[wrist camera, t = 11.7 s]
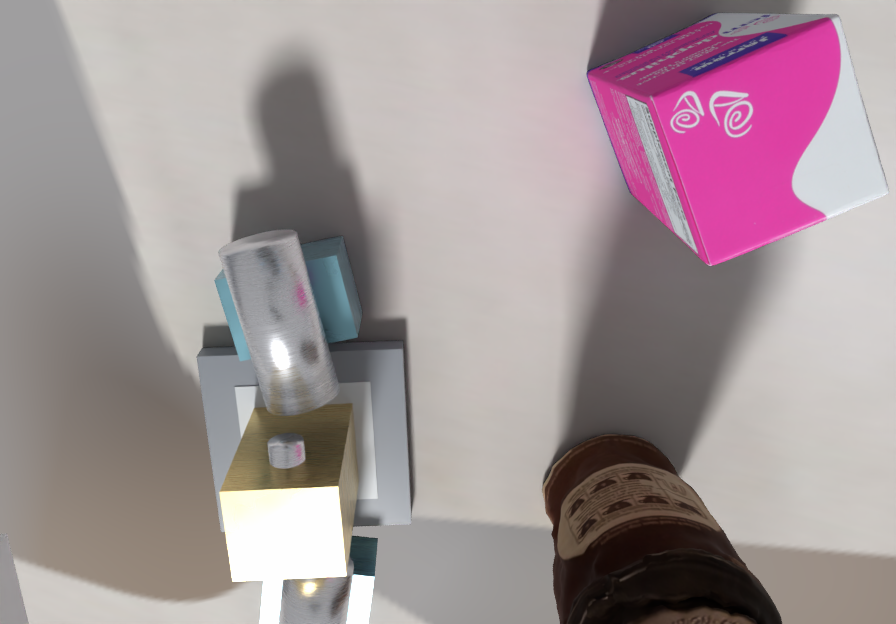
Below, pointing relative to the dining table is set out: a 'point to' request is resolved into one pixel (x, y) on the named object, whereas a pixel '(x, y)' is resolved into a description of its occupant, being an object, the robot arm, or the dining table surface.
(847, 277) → the dining table surface
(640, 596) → the coffee cup
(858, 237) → the dining table surface
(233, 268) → the shaft
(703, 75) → the supplement box
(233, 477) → the block
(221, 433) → the cradle
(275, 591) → the shaft
